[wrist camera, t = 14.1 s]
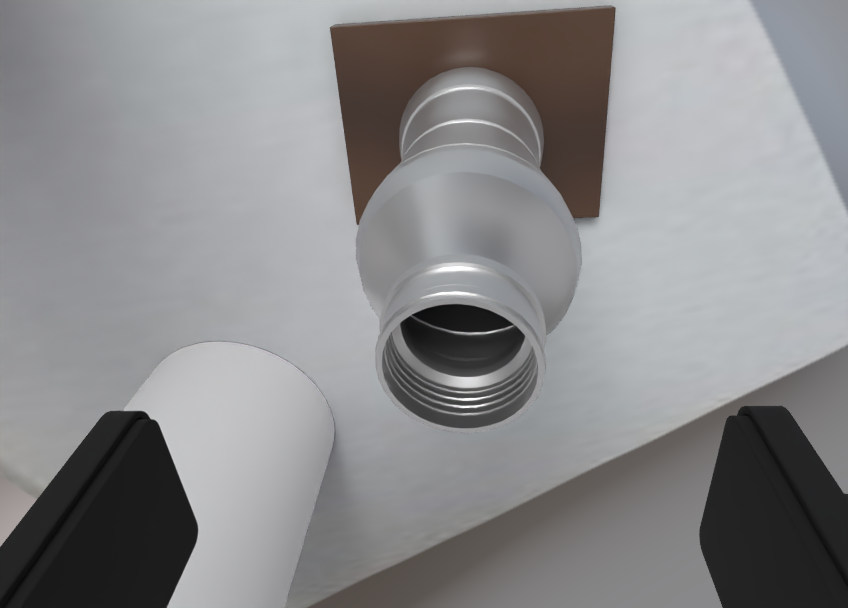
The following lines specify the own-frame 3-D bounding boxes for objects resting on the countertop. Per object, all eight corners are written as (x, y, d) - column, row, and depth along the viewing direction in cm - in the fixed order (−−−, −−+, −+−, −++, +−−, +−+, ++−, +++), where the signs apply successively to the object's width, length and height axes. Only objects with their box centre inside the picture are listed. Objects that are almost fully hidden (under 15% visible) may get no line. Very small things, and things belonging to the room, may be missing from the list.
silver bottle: (450, 28, 28) (398, 159, 11) (567, 109, 29) (688, 342, 12) (381, 144, 31) (255, 393, 14) (490, 214, 32) (499, 517, 15)
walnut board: (334, 24, 29) (329, 26, 28) (611, 5, 28) (615, 7, 27) (359, 218, 34) (356, 225, 33) (595, 210, 33) (598, 217, 32)
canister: (288, 322, 38) (130, 629, 21) (361, 473, 45) (286, 804, 27) (108, 363, 41) (-158, 662, 24) (201, 499, 47) (42, 813, 30)
